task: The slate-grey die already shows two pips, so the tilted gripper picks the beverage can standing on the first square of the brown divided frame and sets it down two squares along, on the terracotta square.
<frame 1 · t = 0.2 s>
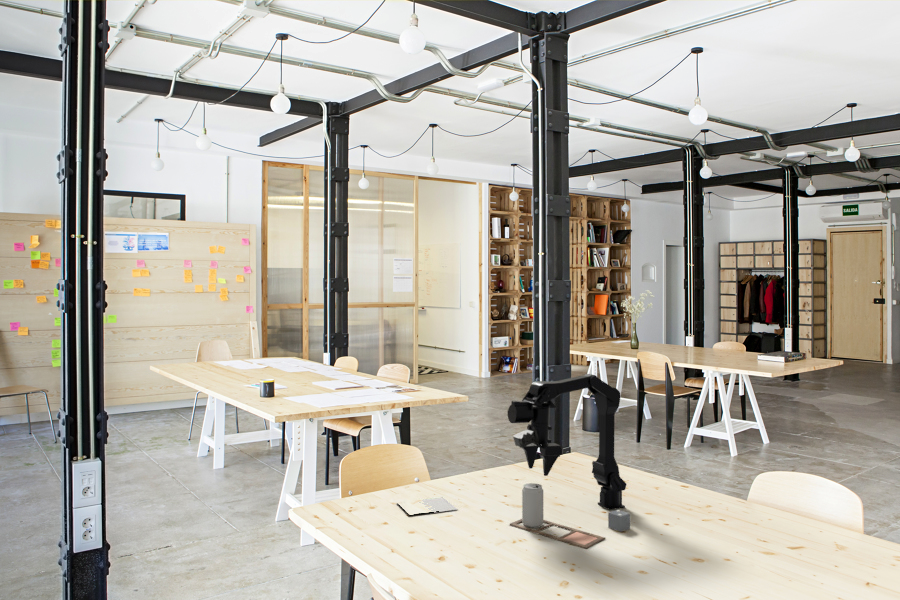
hand: (538, 471, 203), 14 cm above the table, tool pointing down, fingers open, 9 cm apart
die: (619, 527, 194), on the table
beverage can: (532, 525, 197), resting on brown divided frame
paper stack: (419, 514, 208), on the table
brown divided frame: (555, 531, 191), on the table
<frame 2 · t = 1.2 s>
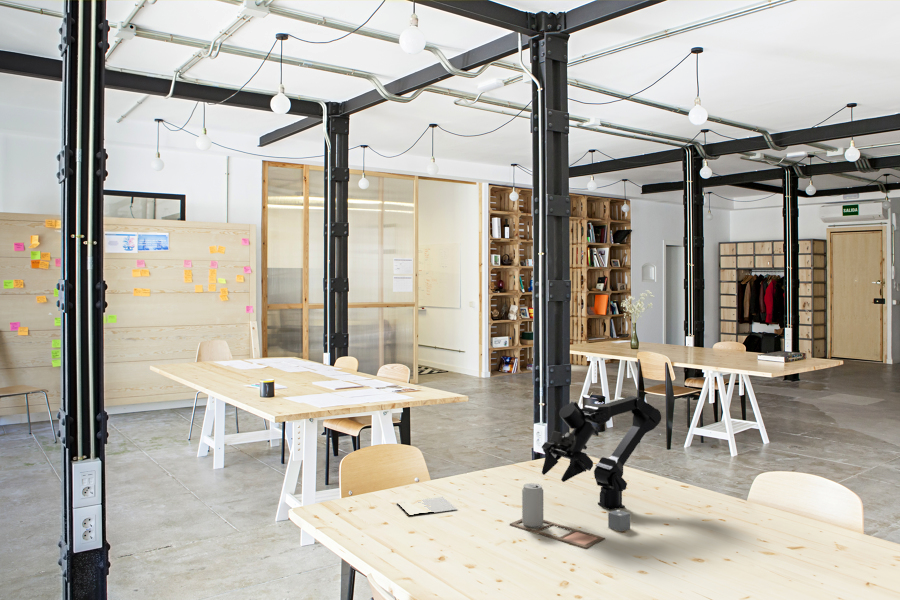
hand: (552, 477, 201), 13 cm above the table, tool tilted 45°, fingers open, 9 cm apart
nothing on the table moved.
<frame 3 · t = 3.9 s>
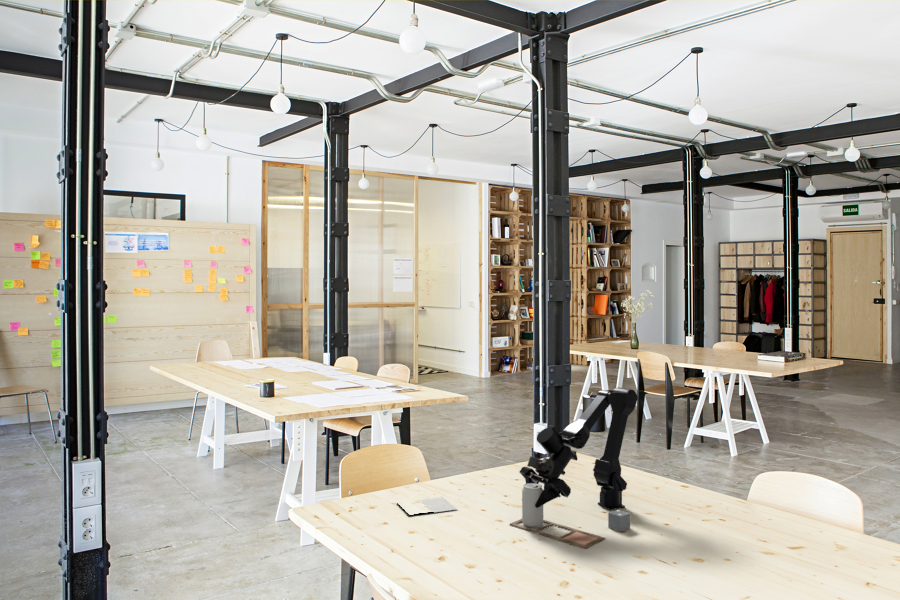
hand: (529, 504, 196), 7 cm above the table, tool tilted 45°, fingers closed on beverage can, 6 cm apart
beverage can: (532, 525, 197), resting on brown divided frame, touching gripper
everything else where it was.
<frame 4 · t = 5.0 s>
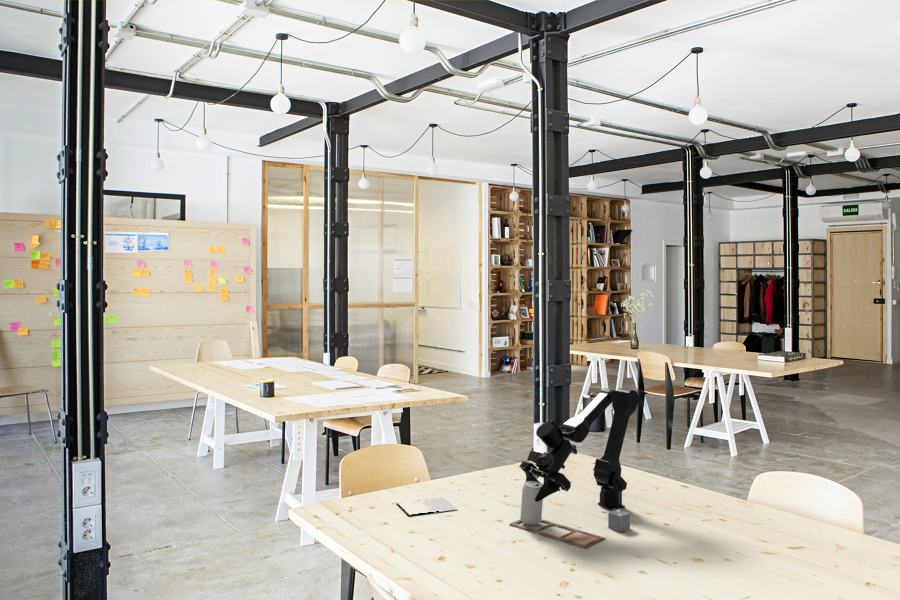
hand: (529, 498, 196), 8 cm above the table, tool tilted 45°, fingers closed on beverage can, 6 cm apart
beverage can: (530, 522, 198), resting on brown divided frame, touching gripper
everything else where it was.
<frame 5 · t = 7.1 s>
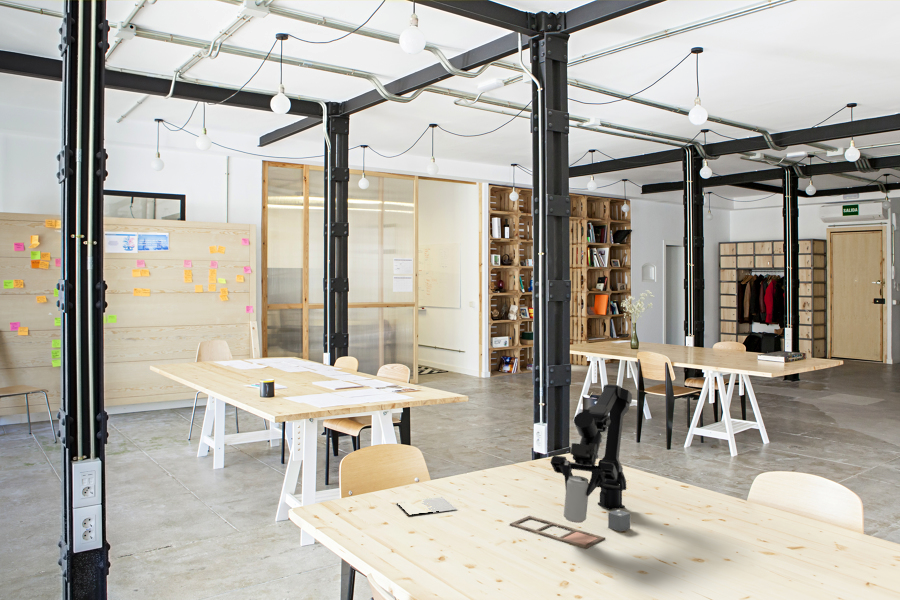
hand: (576, 493, 185), 13 cm above the table, tool tilted 45°, fingers closed on beverage can, 6 cm apart
beverage can: (574, 520, 186), point 5 cm above the table, touching gripper
everything else where it was.
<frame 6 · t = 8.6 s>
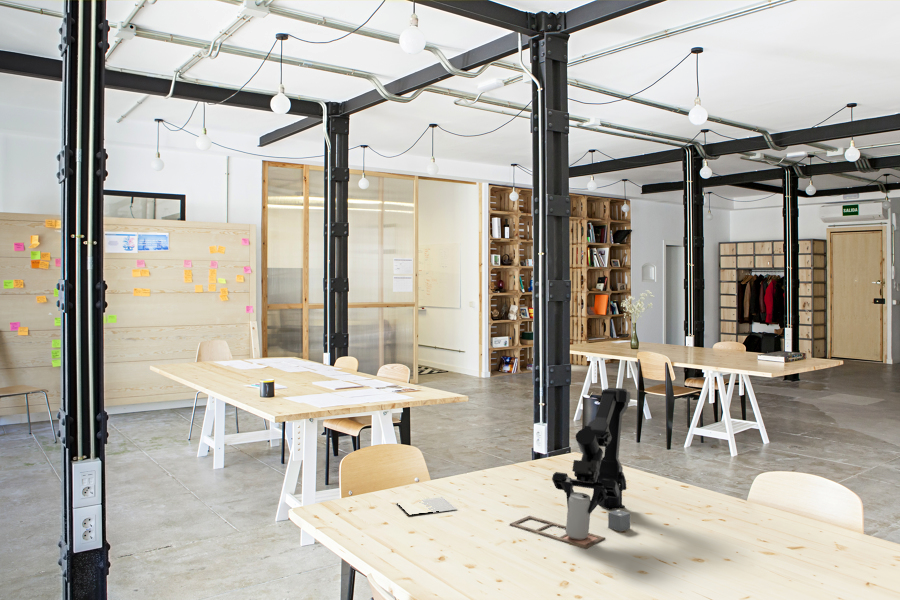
hand: (578, 511, 184), 8 cm above the table, tool tilted 45°, fingers closed on beverage can, 6 cm apart
beverage can: (576, 537, 186), resting on brown divided frame, touching gripper
everything else where it was.
when the fingers open (8 cm above the table, at t = 9.3 s): beverage can stays where it is, resting on brown divided frame.
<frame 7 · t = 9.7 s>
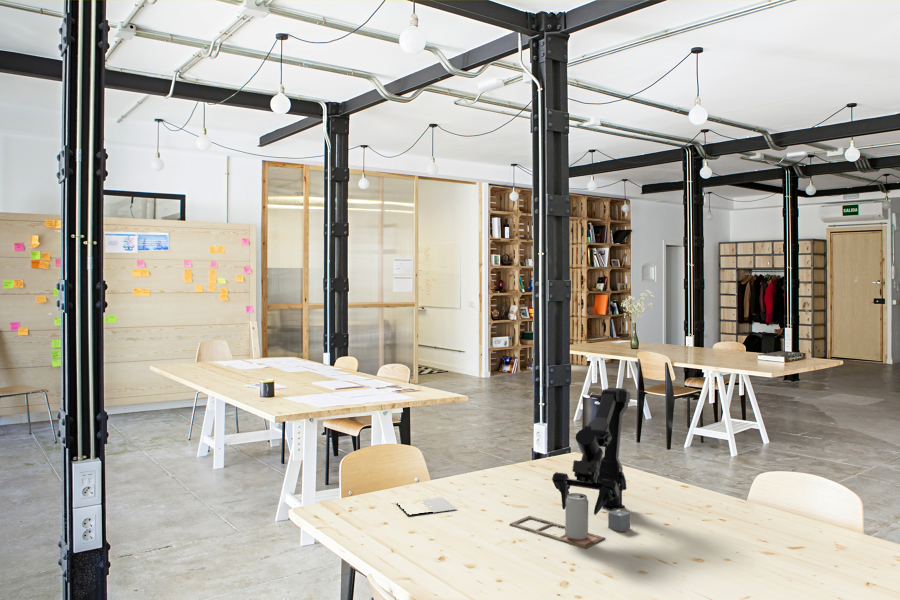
hand: (578, 511, 184), 8 cm above the table, tool tilted 45°, fingers open, 9 cm apart
beverage can: (576, 537, 186), resting on brown divided frame
everything else where it was.
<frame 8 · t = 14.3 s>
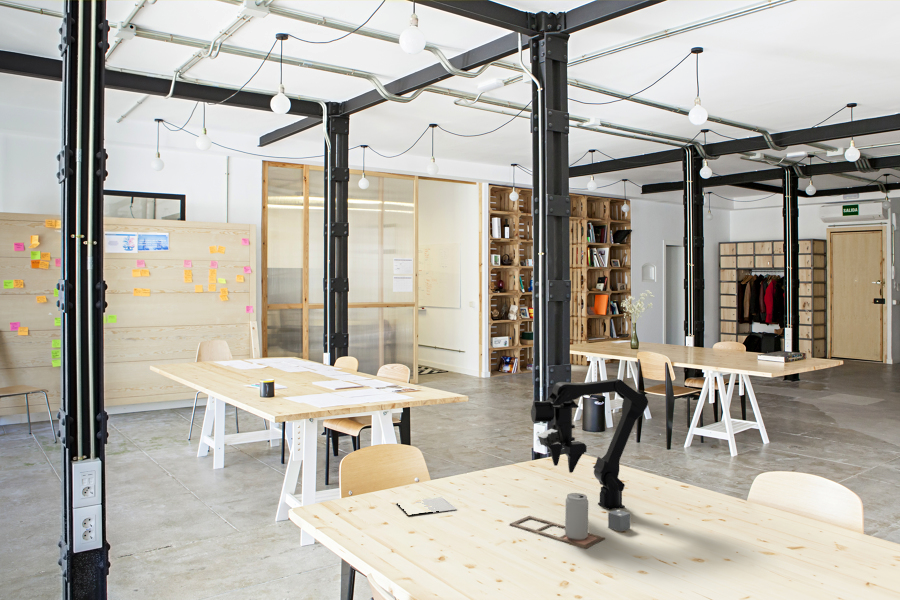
hand: (563, 469, 212), 13 cm above the table, tool pointing down, fingers open, 9 cm apart
nothing on the table moved.
at the end: beverage can 1.2 cm from the target spot, resting on brown divided frame; beverage can tilted 1°; the gripper is holding nothing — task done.
